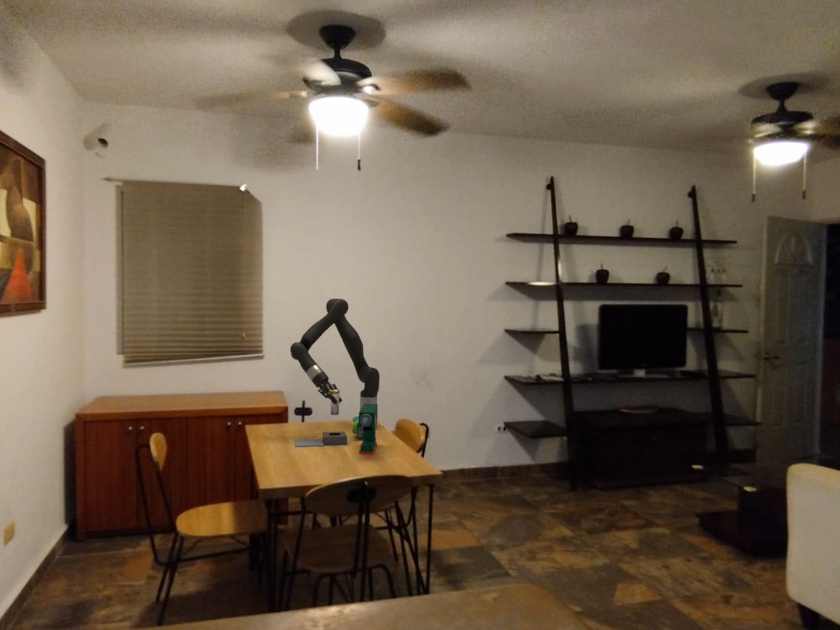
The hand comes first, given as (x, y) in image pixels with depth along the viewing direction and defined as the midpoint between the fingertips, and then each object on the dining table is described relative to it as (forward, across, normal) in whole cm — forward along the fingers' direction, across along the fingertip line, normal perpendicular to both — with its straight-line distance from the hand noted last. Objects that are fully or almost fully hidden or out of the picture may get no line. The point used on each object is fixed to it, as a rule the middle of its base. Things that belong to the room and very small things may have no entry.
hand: (338, 402), depth 303 cm
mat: (+6, -7, +23) cm, 24 cm away
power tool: (+29, -11, -1) cm, 31 cm away
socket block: (+13, 0, +15) cm, 20 cm away
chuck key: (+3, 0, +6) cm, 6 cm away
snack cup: (+19, +15, +10) cm, 26 cm away
